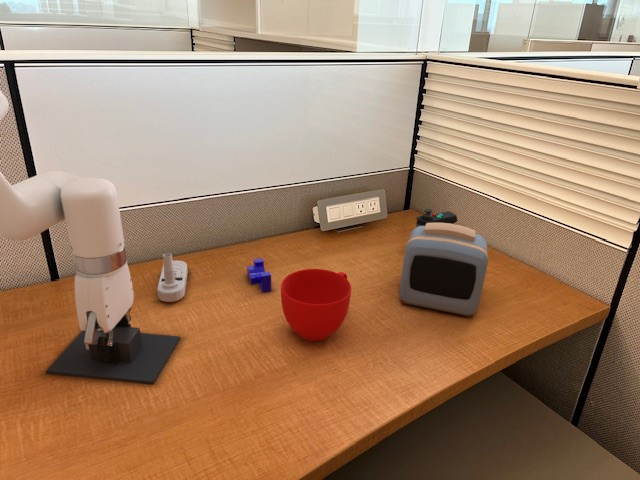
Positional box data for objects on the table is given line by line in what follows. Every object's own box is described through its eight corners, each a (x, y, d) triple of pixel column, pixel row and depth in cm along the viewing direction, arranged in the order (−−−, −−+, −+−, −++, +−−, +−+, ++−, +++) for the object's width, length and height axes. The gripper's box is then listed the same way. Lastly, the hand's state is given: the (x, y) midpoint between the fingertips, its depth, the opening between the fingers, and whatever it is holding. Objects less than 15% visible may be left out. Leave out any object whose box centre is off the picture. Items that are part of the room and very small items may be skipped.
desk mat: (46, 373, 78) (45, 370, 78) (85, 330, 89) (85, 327, 89) (153, 384, 77) (153, 381, 77) (180, 339, 88) (179, 336, 87)
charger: (84, 358, 81) (80, 339, 79) (97, 342, 85) (94, 323, 83) (131, 363, 80) (128, 343, 79) (142, 346, 84) (139, 327, 83)
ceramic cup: (370, 317, 96) (374, 274, 92) (323, 361, 84) (326, 313, 79) (317, 296, 103) (319, 255, 99) (266, 334, 90) (265, 288, 86)
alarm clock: (396, 305, 101) (405, 237, 94) (407, 270, 115) (415, 209, 108) (476, 321, 97) (492, 251, 90) (477, 283, 111) (490, 220, 104)
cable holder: (247, 275, 110) (246, 260, 108) (262, 273, 111) (262, 258, 109) (255, 293, 103) (255, 277, 101) (271, 291, 104) (271, 275, 102)
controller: (410, 243, 129) (415, 208, 125) (445, 235, 135) (450, 202, 130) (420, 249, 126) (425, 214, 122) (455, 242, 131) (462, 208, 127)
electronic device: (185, 231, 108) (179, 260, 94) (188, 269, 112) (184, 302, 98) (160, 232, 107) (151, 261, 93) (164, 271, 111) (157, 304, 97)
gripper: (104, 234, 83) (119, 321, 90) (44, 283, 67) (68, 383, 75) (146, 237, 82) (157, 325, 90) (95, 287, 67) (114, 388, 75)
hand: (116, 351), depth 82 cm, fingers closed on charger, 4 cm apart
